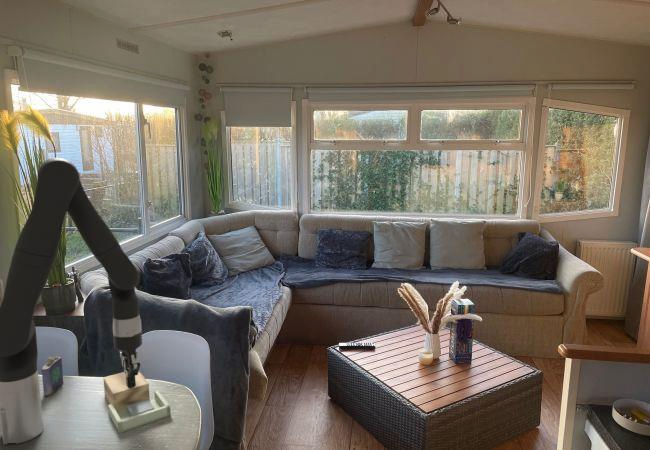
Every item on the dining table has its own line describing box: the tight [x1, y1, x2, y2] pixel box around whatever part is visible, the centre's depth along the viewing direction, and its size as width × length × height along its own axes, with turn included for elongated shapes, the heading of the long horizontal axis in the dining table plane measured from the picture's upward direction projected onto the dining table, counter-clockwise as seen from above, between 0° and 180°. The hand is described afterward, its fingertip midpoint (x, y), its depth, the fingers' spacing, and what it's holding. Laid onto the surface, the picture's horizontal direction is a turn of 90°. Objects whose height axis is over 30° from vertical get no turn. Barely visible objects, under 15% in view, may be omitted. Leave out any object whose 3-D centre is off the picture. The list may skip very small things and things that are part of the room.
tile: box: [126, 399, 154, 417], centre depth 136 cm, size 6×6×2 cm
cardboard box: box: [102, 371, 150, 411], centre depth 144 cm, size 10×12×6 cm
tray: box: [108, 389, 171, 434], centre depth 135 cm, size 14×11×3 cm
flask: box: [41, 356, 64, 397], centre depth 149 cm, size 9×3×11 cm, turn 2°
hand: (131, 386), depth 139 cm, fingers closed
